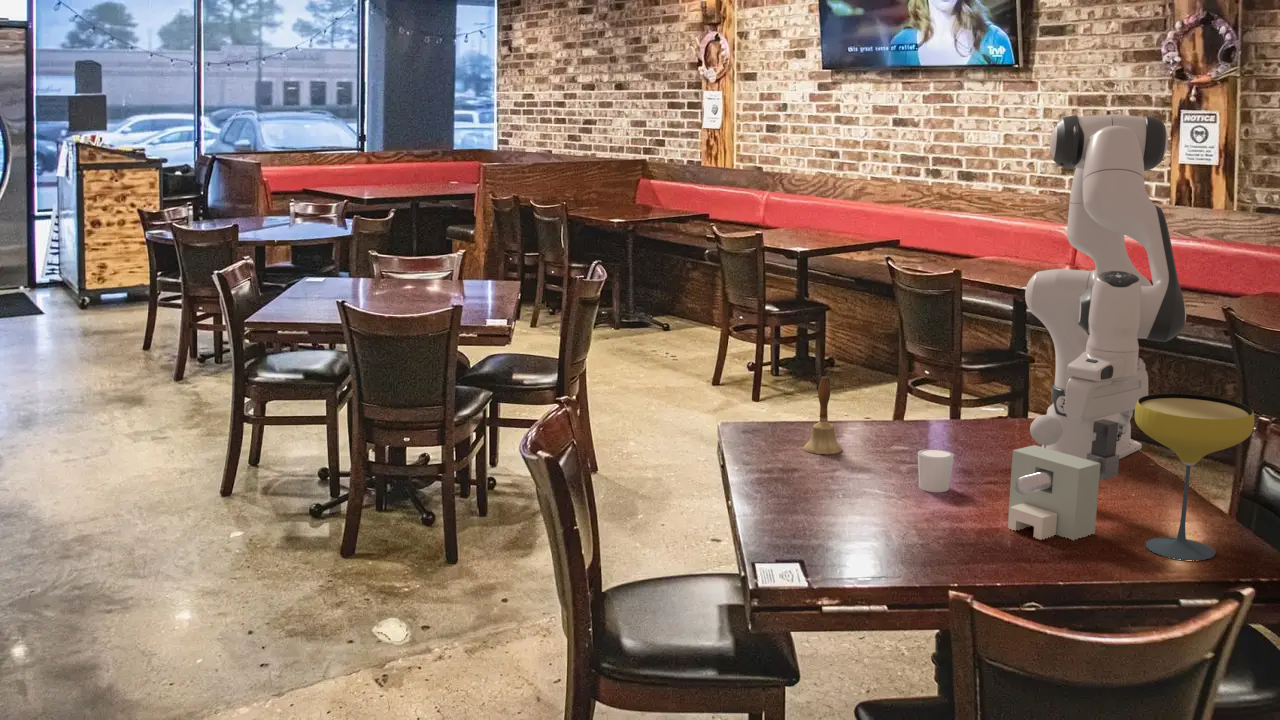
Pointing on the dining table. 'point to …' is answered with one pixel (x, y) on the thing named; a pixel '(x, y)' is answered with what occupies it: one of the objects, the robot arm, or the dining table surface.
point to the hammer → (1100, 453)
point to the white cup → (935, 469)
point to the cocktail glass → (1191, 447)
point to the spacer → (1033, 520)
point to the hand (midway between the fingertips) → (1104, 437)
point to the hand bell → (823, 426)
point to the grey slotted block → (1060, 488)
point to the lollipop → (1046, 430)
